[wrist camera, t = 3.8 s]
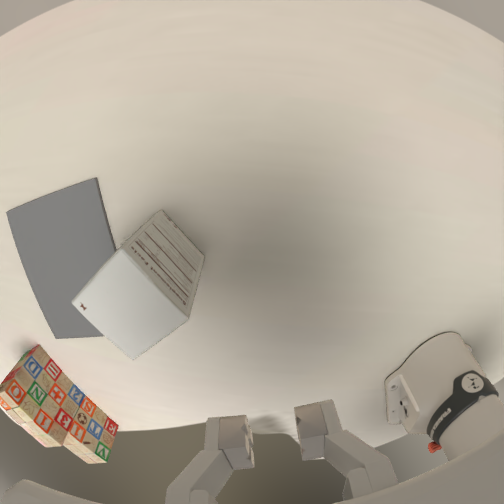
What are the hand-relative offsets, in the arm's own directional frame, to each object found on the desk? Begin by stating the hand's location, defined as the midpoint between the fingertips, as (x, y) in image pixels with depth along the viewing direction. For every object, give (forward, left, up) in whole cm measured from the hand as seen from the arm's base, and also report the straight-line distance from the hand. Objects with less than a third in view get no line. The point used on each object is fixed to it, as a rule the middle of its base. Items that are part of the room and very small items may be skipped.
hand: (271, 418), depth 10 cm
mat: (0, +24, -23) cm, 33 cm away
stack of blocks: (-22, +37, -24) cm, 49 cm away
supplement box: (0, +10, -23) cm, 25 cm away
